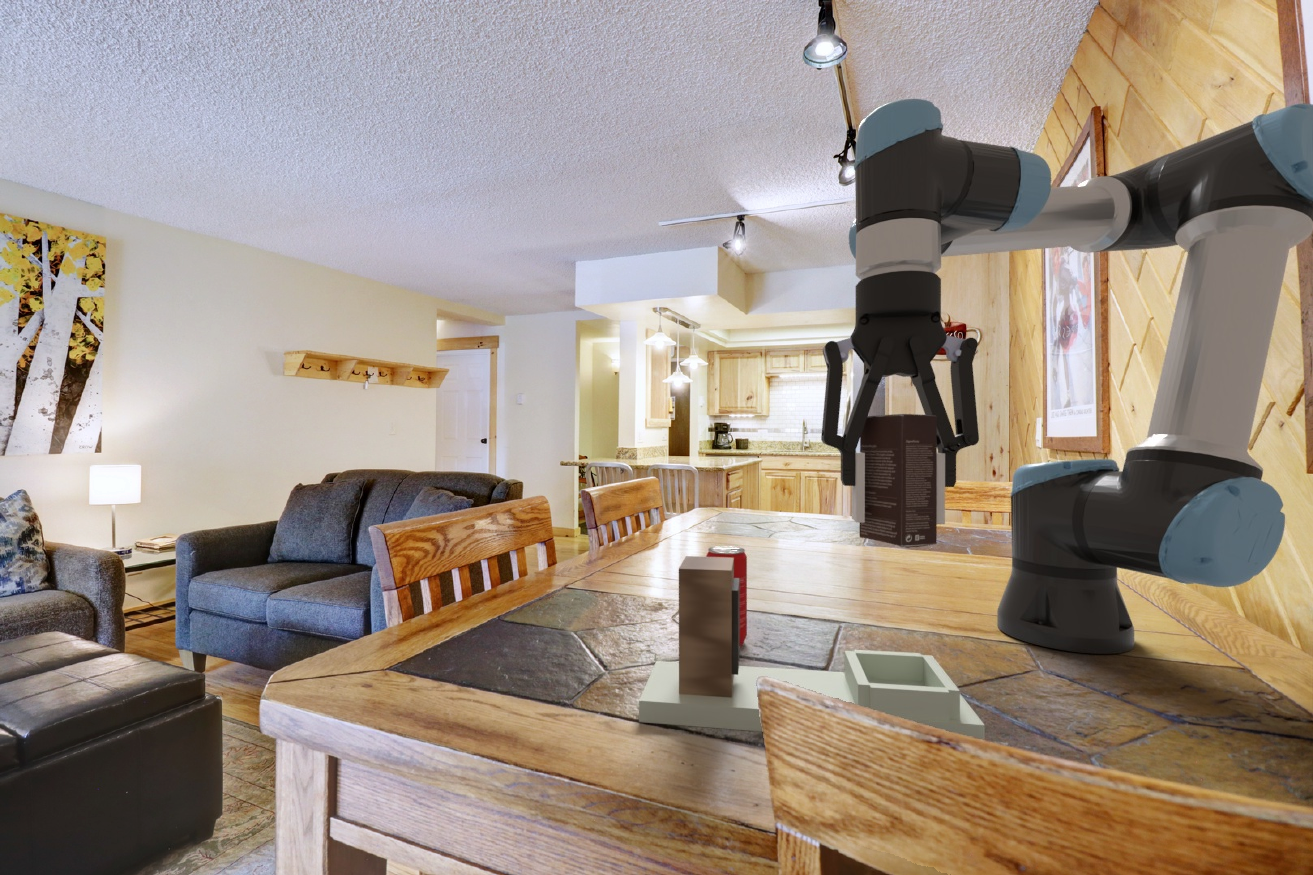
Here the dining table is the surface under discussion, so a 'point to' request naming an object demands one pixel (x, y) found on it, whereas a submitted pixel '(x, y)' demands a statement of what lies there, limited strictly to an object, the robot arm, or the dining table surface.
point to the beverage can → (739, 572)
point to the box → (900, 479)
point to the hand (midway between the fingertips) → (896, 520)
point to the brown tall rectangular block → (708, 626)
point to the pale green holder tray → (866, 681)
